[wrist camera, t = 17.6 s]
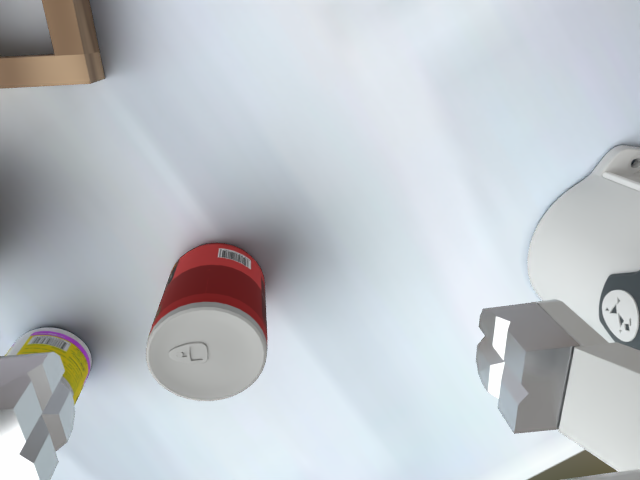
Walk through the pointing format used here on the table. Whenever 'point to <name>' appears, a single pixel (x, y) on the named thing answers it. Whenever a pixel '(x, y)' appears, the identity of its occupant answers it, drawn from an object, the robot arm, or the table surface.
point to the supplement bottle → (66, 347)
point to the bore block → (59, 51)
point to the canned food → (210, 325)
